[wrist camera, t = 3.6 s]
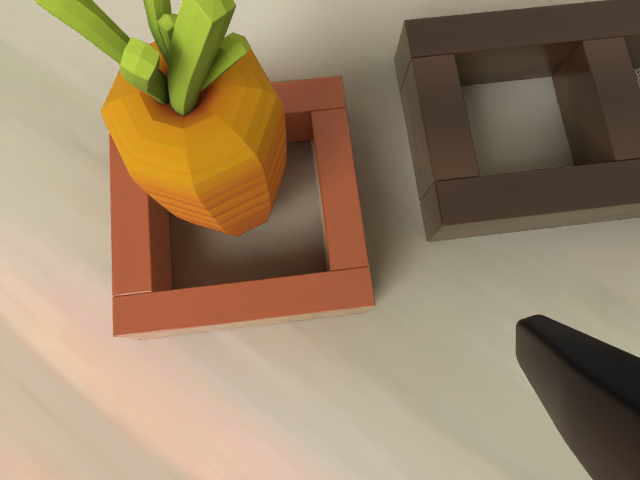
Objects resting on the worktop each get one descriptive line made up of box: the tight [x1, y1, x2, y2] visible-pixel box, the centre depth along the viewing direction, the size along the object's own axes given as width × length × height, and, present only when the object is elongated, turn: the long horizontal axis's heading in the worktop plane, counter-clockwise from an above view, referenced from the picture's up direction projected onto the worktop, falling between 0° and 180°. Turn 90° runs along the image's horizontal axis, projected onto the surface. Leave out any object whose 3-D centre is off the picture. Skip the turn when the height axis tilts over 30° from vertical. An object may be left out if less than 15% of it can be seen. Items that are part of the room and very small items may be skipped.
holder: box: [109, 76, 375, 340], centre depth 22 cm, size 10×10×3 cm
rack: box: [394, 0, 640, 242], centre depth 23 cm, size 10×18×3 cm, turn 97°
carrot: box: [35, 0, 286, 236], centre depth 16 cm, size 5×5×15 cm
